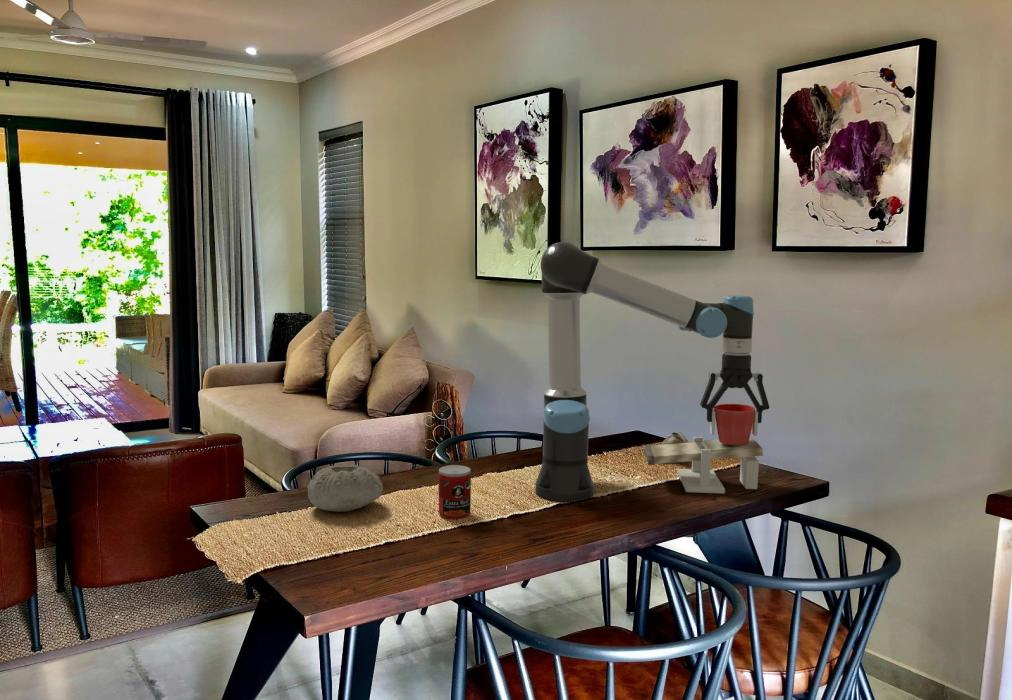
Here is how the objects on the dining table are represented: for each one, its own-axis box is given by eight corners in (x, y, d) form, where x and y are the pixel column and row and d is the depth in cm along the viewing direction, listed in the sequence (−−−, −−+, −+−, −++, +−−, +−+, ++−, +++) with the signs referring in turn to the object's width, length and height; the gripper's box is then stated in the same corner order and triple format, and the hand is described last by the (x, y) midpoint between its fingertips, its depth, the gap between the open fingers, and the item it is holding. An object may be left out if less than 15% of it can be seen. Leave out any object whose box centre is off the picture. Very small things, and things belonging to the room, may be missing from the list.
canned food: (441, 520, 189) (442, 475, 188) (435, 510, 197) (435, 465, 195) (473, 518, 191) (474, 473, 190) (466, 507, 199) (466, 463, 197)
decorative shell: (329, 493, 209) (328, 455, 208) (394, 499, 204) (393, 460, 203) (294, 515, 192) (293, 473, 190) (363, 522, 187) (363, 480, 186)
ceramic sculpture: (697, 428, 250) (685, 441, 237) (696, 455, 251) (684, 470, 238) (663, 425, 254) (649, 437, 241) (663, 451, 256) (649, 465, 243)
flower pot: (750, 437, 225) (750, 402, 224) (758, 447, 215) (758, 411, 213) (711, 437, 227) (711, 403, 225) (717, 447, 216) (717, 411, 214)
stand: (686, 491, 214) (688, 450, 213) (677, 472, 232) (678, 434, 231) (761, 494, 213) (764, 453, 211) (746, 475, 231) (749, 437, 229)
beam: (648, 465, 217) (647, 455, 217) (644, 453, 229) (643, 444, 229) (763, 456, 215) (762, 446, 214) (753, 445, 226) (752, 436, 226)
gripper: (695, 354, 215) (692, 436, 218) (784, 356, 213) (780, 438, 216) (690, 350, 222) (688, 430, 225) (777, 352, 220) (773, 431, 223)
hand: (733, 434), depth 220 cm, fingers closed on flower pot, 11 cm apart
